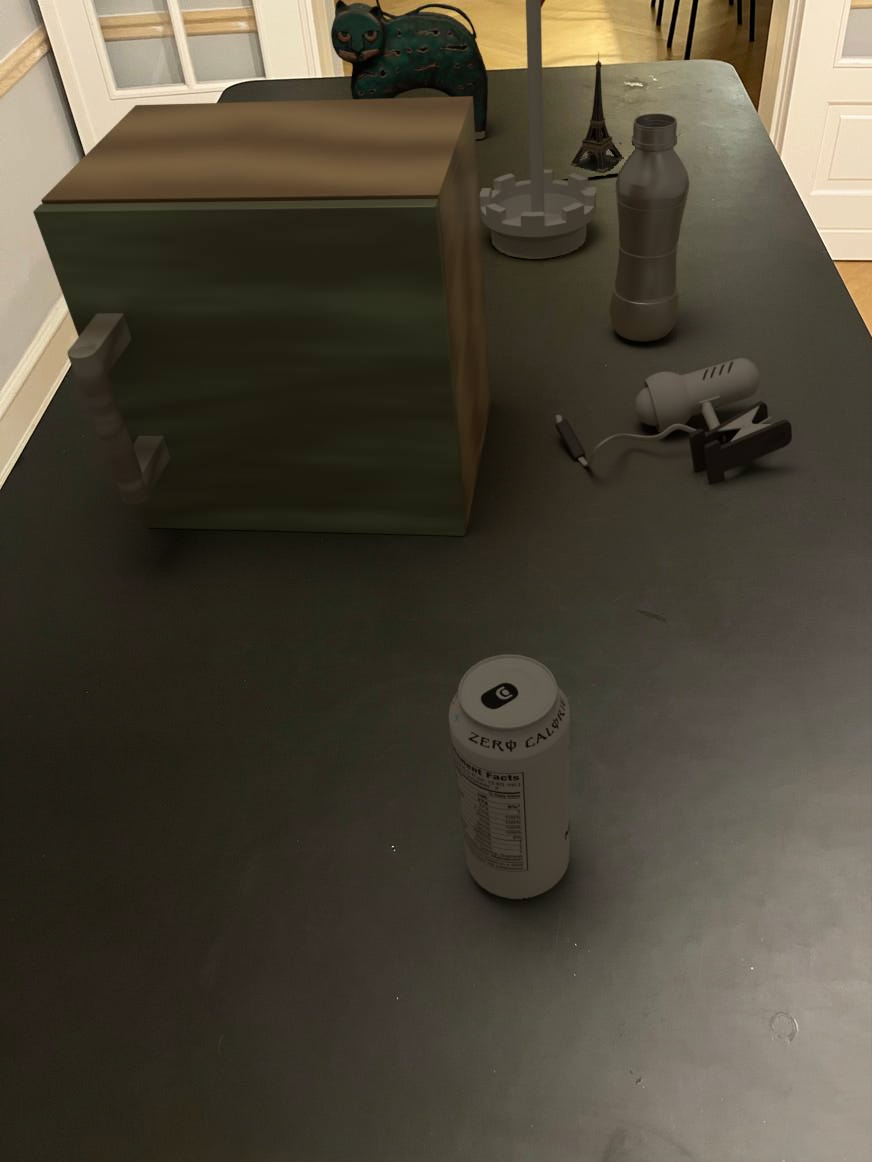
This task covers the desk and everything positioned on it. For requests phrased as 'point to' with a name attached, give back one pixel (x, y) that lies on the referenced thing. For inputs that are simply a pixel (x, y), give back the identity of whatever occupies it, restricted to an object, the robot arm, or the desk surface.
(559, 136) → the desk surface
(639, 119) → the plastic bottle
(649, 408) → the clip-on lamp
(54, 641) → the desk surface
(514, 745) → the energy drink can
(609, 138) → the eiffel tower figurine
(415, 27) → the ceramic cat
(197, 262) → the cupboard door
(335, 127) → the cupboard
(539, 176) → the flag stand
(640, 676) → the desk surface
